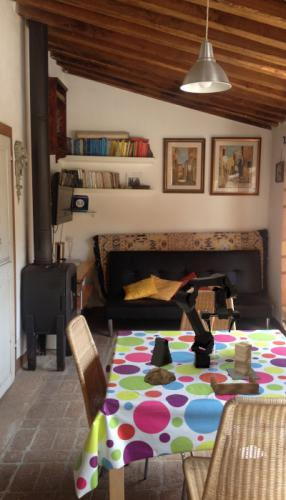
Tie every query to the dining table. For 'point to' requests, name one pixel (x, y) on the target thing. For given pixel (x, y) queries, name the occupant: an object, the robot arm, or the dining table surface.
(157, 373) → the bread roll
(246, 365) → the maple block
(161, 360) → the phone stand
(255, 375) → the mat
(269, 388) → the dining table surface
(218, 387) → the nook
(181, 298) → the robot arm
